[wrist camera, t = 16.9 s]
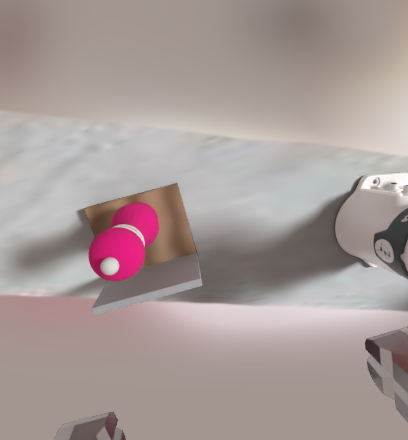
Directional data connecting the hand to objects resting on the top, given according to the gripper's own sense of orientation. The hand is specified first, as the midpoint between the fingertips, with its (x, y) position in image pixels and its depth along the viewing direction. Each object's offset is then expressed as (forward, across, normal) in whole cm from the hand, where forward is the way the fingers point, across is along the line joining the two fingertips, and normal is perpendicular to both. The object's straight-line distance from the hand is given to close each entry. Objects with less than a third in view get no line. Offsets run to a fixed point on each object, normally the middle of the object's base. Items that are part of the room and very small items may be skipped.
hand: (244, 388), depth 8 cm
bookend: (+39, -10, -4) cm, 41 cm away
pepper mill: (+37, -10, -1) cm, 39 cm away
